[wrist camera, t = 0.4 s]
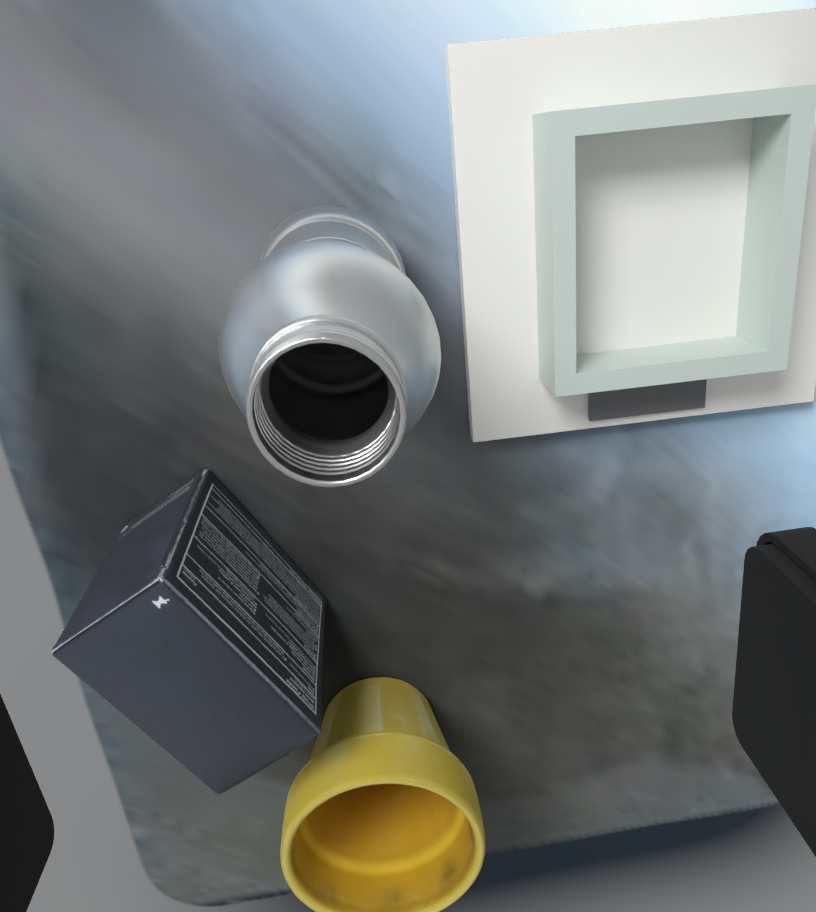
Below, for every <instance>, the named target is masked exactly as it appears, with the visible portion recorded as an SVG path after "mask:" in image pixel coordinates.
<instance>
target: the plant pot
mask: <svg viewBox="0 0 816 912" xmlns="http://www.w3.org/2000/svg"><path fill="white" fill-rule="evenodd" d="M321 726H322V727H321V733H320V735H318V737H317V740H316V742H315V745H314V748H313V751H312V754H311V757H310V760H309V761H308V762H307V763H306V764H305V765H304V767H303V768H302V769H301V770H300V772H299V773H298V774H297V776H296V778H295V779H294V781H293V783H292V785H291V788H290V790H289V793H288V797H287V802H286V808H285V814H284V821H283V829H282V839H281V853H280V856H281V866H282V870H283V874H284V876H285V879H286V881H287V883H288V885H289V886H290V888H291V890H292V891H293V893H294V894H295V895H296V896H297V897H298V898H299V899H300V900H301V901H302V902H303V903H304V904H306V905H307V906H308V907H309V908H311V909H313V910H314V911H316V912H439V911H441V910H443V909H445V908H446V907H448V906H449V905H451V904H452V903H454V902H455V901H456V900H458V898H460V897H461V896H462V895H463V894H464V893H465V892H466V891H467V890H468V889H469V888H470V886H471V885H472V884H473V882H474V881H475V879H476V878H477V876H478V874H479V872H480V869H481V867H482V864H483V861H484V856H485V847H486V843H485V833H484V826H483V820H482V815H481V810H480V805H479V801H478V797H477V793H476V789H475V786H474V783H473V780H472V778H471V776H470V774H469V772H468V770H467V769H466V767H465V766H464V765H463V764H462V762H461V761H460V760H459V759H458V758H457V757H456V756H455V755H454V754H453V753H451V752H450V750H449V748H448V746H447V744H446V741H445V739H444V737H443V735H442V732H441V730H440V728H439V726H438V723H437V721H436V719H435V716H434V714H433V711H432V709H431V707H430V705H429V703H428V701H427V699H426V698H425V697H424V695H423V694H422V693H421V692H420V691H419V690H418V689H416V688H415V687H414V686H412V685H410V684H409V683H407V682H405V681H402V680H399V679H394V678H388V677H374V678H367V679H363V680H359V681H357V682H354V683H352V684H350V685H348V686H347V687H345V688H344V689H342V690H341V691H340V692H339V693H337V694H336V696H335V697H334V698H333V699H332V700H331V702H330V703H329V705H328V707H327V709H326V712H325V715H324V719H323V722H322V725H321Z"/></svg>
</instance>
